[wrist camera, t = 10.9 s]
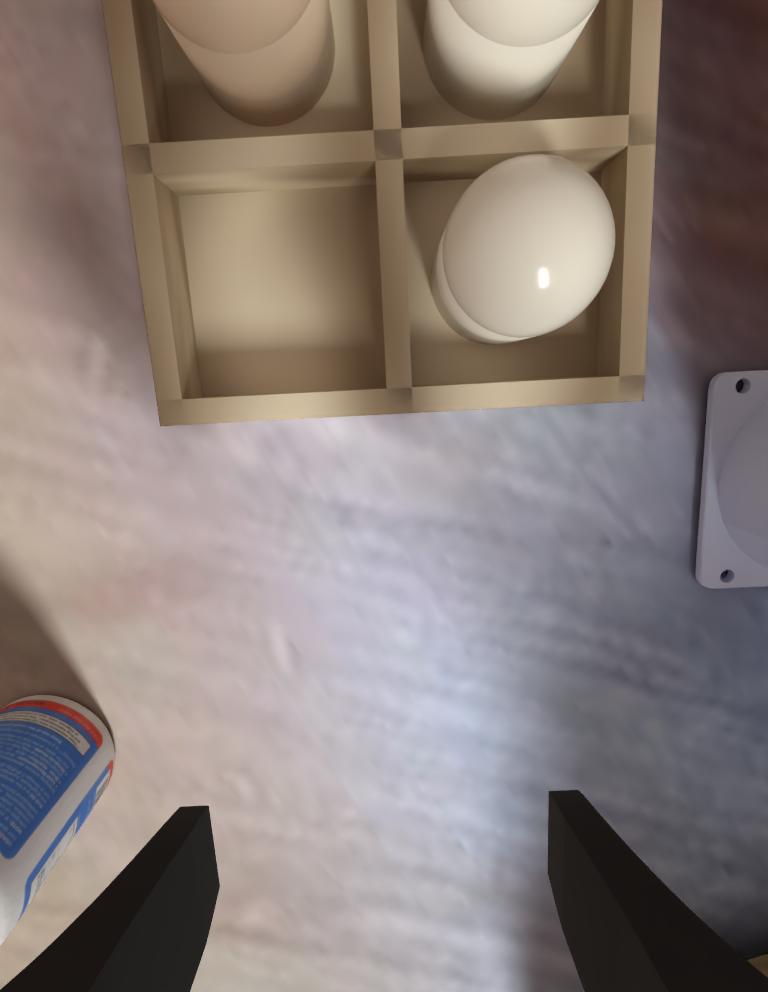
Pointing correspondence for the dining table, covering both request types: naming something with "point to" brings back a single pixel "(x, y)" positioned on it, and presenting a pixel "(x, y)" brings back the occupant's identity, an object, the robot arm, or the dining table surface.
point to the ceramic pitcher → (760, 963)
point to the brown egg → (257, 53)
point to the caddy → (368, 224)
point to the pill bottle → (45, 790)
